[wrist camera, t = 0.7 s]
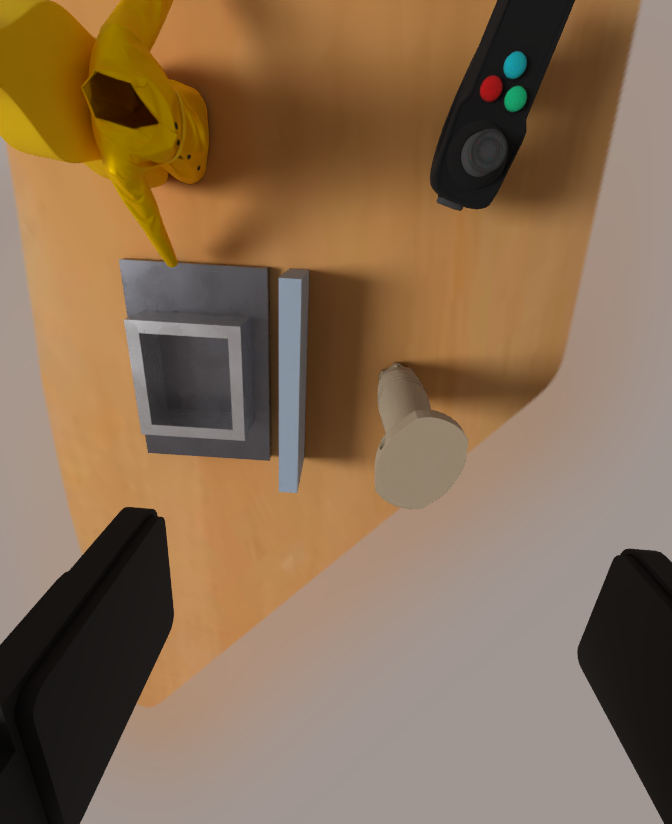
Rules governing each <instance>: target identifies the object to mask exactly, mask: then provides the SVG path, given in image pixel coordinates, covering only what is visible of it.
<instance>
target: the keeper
mask: <svg viewBox="0 0 672 824" xmlns="http://www.w3.org/2000/svg"><path fill="white" fill-rule="evenodd" d="M119 263H120V269H121V276H122V283H123V289H124V296H125V303H126V309H127V316H128V318H126V319H124V323H125V329H126V336H127V342H128V349H129V355H130V362H131V368H132V375H133V381H134V388H135V394H136V401H137V407H138V413H139V420H140V426H141V433H142V434H145V435H146V442H147V449H148V453H160V454H175V455H191V456H206V457H222V458H237V459H253V460H268V461H270V458H271V370H270V273H269V267H259V266H242V265H226V264H210V263H193V262H178V264H177V266H176V267H169V266H167V265H166V263H165V262H164V261H161V260H145V259H128V258H124V259H119Z"/></svg>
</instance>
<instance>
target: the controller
mask: <svg viewBox="0 0 672 824" xmlns="http://www.w3.org/2000/svg"><path fill="white" fill-rule="evenodd" d="M574 2H575V0H497V3H496V5H495V8H494V10H493V13H492V15H491V17H490V20H489V22H488V25H487V27H486V30H485V32H484V35H483V37H482V40H481V42H480V44H479V47H478V49H477V51H476V53H475V55H474V57H473V59H472V61H471V63H470V65H469V67H468V69H467V72H466V74H465V76H464V78H463V80H462V83H461V85H460V87H459V89H458V92H457V94H456V96H455V99H454V101H453V104H452V106H451V109H450V111H449V114H448V116H447V119H446V121H445V124H444V127H443V130H442V133H441V136H440V138H439V141H438V145H437V148H436V151H435V155H434V158H433V162H432V167H431V173H430V183H431V186H432V188H433V190H434V191H435V192H436V193H437V194H438V199H437V203H439V204H442V205H444V206H447V207H449V208H452V209H455V210H459V211H461V210H462V209H463V207H466V208H471V209H482V208H486V207H487V206H489V205H490V203H491V202H492V200H493V199H494V197H495V196H496V194H497V192H498V190H499V188H500V186H501V184H502V182H503V180H504V178H505V176H506V174H507V172H508V170H509V168H510V166H511V164H512V162H513V160H514V158H515V156H516V154H517V152H518V150H519V148H520V146H521V144H522V142H523V139H524V136H525V134H526V119H527V116H528V114H529V111H530V109H531V106H532V104H533V101H534V99H535V97H536V94H537V92H538V89H539V87H540V84H541V82H542V80H543V77H544V75H545V72H546V70H547V67H548V65H549V63H550V60H551V58H552V55H553V53H554V51H555V48H556V46H557V43H558V41H559V38H560V36H561V34H562V31H563V29H564V26H565V24H566V21H567V19H568V17H569V14H570V12H571V9H572V7H573V4H574Z"/></svg>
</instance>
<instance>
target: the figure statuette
mask: <svg viewBox="0 0 672 824" xmlns="http://www.w3.org/2000/svg"><path fill="white" fill-rule="evenodd" d="M172 3H173V0H121V1H120V2H119V4H118V5H117V6H116V8H115V9H114V10H113V12H112V13H111V14H110V16H109V17H108V19H107V20H106V21H105V23H104V24H103V25H102V27H101V28H100V32H99V34H98V36H97V38H94V37H93V36H92V35H91V34H90V33H89V32H88V31H87V30H86V29H85V28H84V27H83V26H82V25H81V24H80V23H79V22H78V21H77V20H76V19H75V18H74V17H73V16H72V15H71V14H70V13H69V12H68V11H67V10H66V9H64V8H63V7H62V6H61V5H59V4H57V3H56V2H53V1H50V0H0V136H1V137H2V138H3V139H4V140H5V141H6V142H7V143H8V144H9V145H10V146H12V147H13V148H15V149H16V150H18V151H21V152H23V153H27V154H31V155H35V156H40V157H45V158H50V159H54V160H59V161H64V162H69V163H85V164H86V165H87V166H88V167H89V168H90V169H91V170H93V171H94V172H96V173H97V174H99V175H100V176H102V177H105V178H107V179H110V180H111V181H112V183H113V185H114V186H115V188H116V190H117V192H118V193H119V195H120V197H121V199H122V200H123V202H124V203H125V205H126V206H127V208H128V209H129V210H130V212H131V213H132V215H133V216H134V217H135V219H136V220H137V221H138V223H139V224H140V226H141V227H142V228H143V230H144V231H145V233H146V235H147V237H148V238H149V240H150V241H151V243H152V244H153V246H154V247H155V249H156V250H157V251H158V253H159V254H160V256H161V257H162V259H163V260H164V262H165V263H166V265H167V266H169V267H176V266H177V264H178V260H177V258H176V255H175V253H174V250H173V247H172V245H171V242H170V239H169V237H168V234H167V232H166V229H165V226H164V224H163V221H162V218H161V215H160V213H159V208H158V205H157V203H156V200H155V198H154V196H153V194H152V191H151V189H150V188H154V187H158V186H161V185H163V184H164V183H165V182H166V181H167V179H168V174H169V173H170V174H171V175H172V176H173V177H175V178H176V179H178V180H179V181H182V182H184V183H187V184H193V183H196V182H198V181H199V180H200V179H201V178H202V177H203V176H204V174H205V172H206V167H207V156H208V149H209V127H208V116H207V107H206V104H205V102H204V100H203V98H202V97H201V95H200V93H199V92H198V91H197V90H196V89H195V88H192V87H189V86H187V85H184V84H182V83H180V82H178V81H175V80H170V79H168V77H167V75H166V73H165V72H164V70H163V69H162V67H161V66H160V65H159V63H158V62H157V61H156V60H155V58H154V57H153V56H152V54H151V53H150V50H151V48H152V47H153V45H154V43H155V41H156V39H157V37H158V35H159V32H160V30H161V28H162V26H163V24H164V22H165V19H166V17H167V14H168V12H169V10H170V8H171V6H172ZM171 130H172V131H171ZM173 131H174V132H176V133H174V132H173Z"/></svg>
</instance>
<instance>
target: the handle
mask: <svg viewBox="0 0 672 824" xmlns="http://www.w3.org/2000/svg"><path fill="white" fill-rule="evenodd" d="M379 380H380V381H379V385H378V396H377V398H378V408H379V412H380V416H381V419H382V422H383V426H384V429H385V433H386V434H385V435H384V437H383V438H382V441H381V443H380V445H379V448H378V451H377V453H376V459H375V490H376V491H377V493H378V494H379V495H380V496H381V497H382V499H384V500H385V501H387V502H388V503H390V504H393V505H395V506H397V507H401V508H405V509H423V508H424V507H426V506H428V505H429V504H431V503H433V502H434V501H436V500H437V499H439V498H440V497H442V496H443V495H444V494H446V493H447V492H448V490H449V489H450V488H451V487H452V485H453V484H454V482H455V481H456V480H457V478H458V477H459V475H460V474H461V472H462V470H463V468H464V465H465V461H466V455H467V446H468V439H467V437H466V435H465V433H464V432H463V430H462V428H461V427H460V426H459V424H458V423H457V422H456V421H455V420H453V419H452V418H451V417H449V416H447V415H445V414H443V413H440V412H438V411H434V410H431V408H430V404H429V400H428V396H427V394H426V391H425V389H424V387H423V385H422V383H421V382H420V380H419V379H418V377H417V376H416V375H415V373H414V372H413V370H412V369H411V368H410V367H404V366H402V365H401V364H400V363H397V362H396V363H394V364H393V365H392V366H391V367H390V368H388V369H385V370H382V371H381V373H380V375H379Z"/></svg>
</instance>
